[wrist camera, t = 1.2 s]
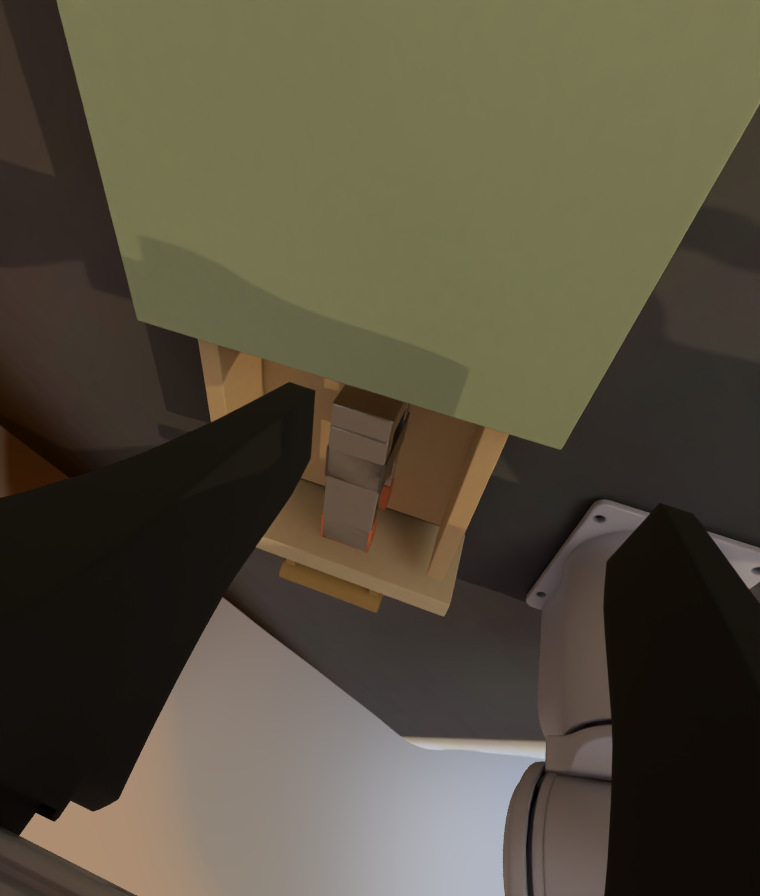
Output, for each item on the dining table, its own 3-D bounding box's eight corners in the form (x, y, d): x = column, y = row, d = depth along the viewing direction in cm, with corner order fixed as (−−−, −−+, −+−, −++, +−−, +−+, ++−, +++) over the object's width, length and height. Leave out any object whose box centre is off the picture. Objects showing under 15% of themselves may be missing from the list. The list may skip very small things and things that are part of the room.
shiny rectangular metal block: (389, 499, 22) (367, 553, 20) (346, 484, 22) (319, 536, 20) (420, 371, 17) (395, 422, 14) (363, 354, 17) (329, 402, 15)
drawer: (442, 585, 27) (426, 652, 24) (259, 519, 29) (222, 574, 26) (573, 296, 15) (575, 358, 12) (235, 209, 16) (157, 242, 13)
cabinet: (562, 349, 17) (561, 450, 12) (238, 260, 19) (137, 321, 14) (1025, -622, 6) (2142, -2299, 2) (171, -608, 8) (-308, -1424, 4)
